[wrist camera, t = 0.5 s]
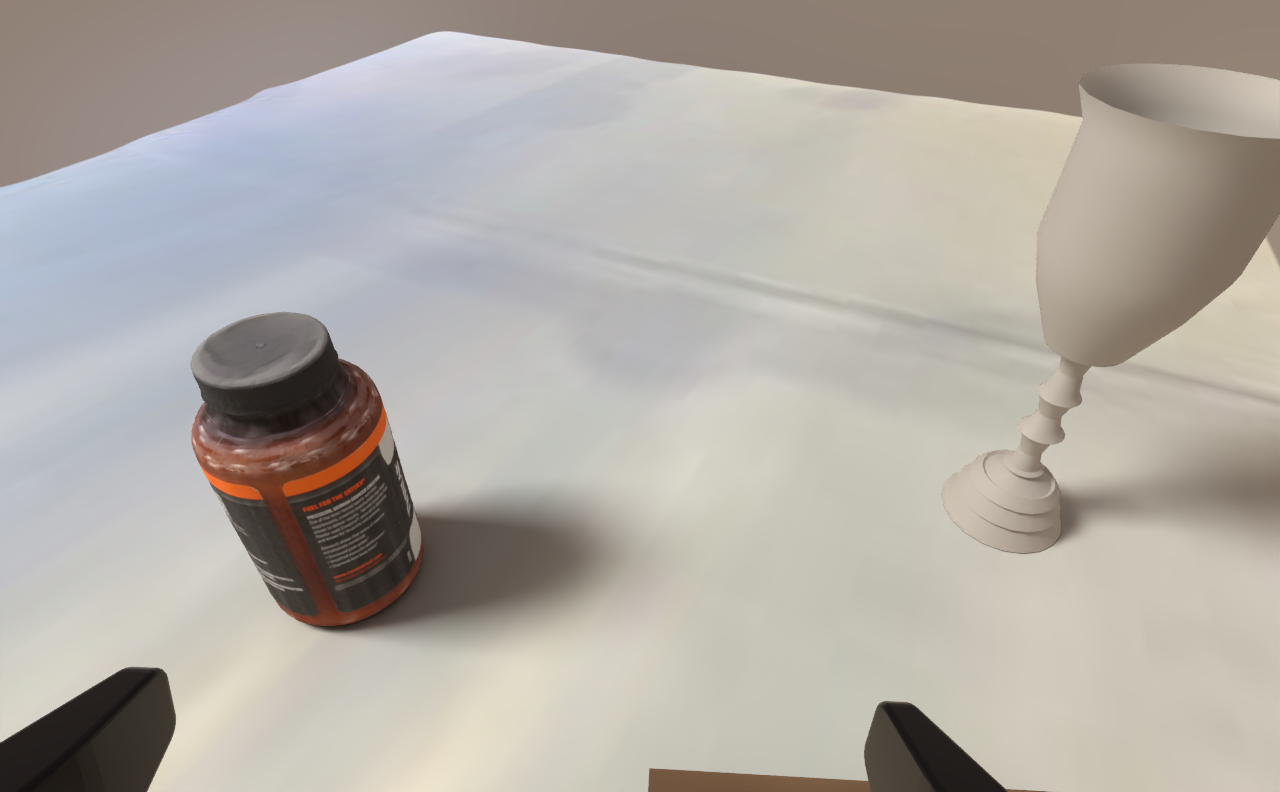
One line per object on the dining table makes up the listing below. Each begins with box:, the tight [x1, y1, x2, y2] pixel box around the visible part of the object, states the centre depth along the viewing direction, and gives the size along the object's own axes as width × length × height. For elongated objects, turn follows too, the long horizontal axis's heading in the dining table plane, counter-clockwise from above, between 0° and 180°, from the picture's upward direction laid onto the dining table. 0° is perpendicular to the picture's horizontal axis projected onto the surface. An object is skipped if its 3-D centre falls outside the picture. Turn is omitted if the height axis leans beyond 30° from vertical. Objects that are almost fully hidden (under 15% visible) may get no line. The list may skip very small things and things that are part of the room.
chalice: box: [942, 64, 1280, 553], centre depth 26 cm, size 7×7×18 cm
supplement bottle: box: [191, 312, 423, 626], centre depth 25 cm, size 6×6×11 cm
